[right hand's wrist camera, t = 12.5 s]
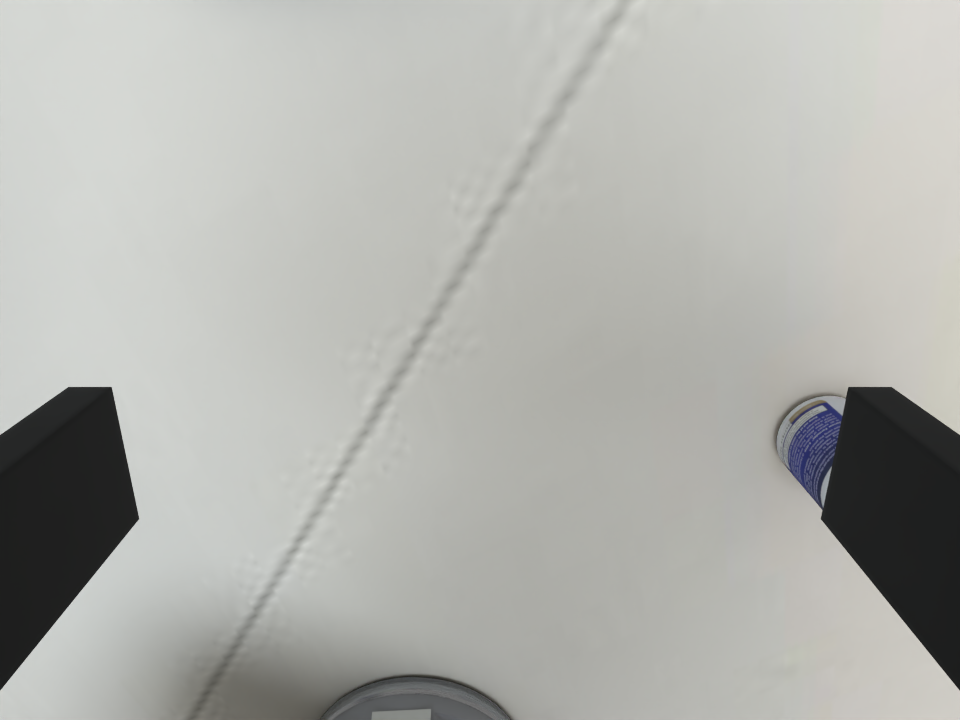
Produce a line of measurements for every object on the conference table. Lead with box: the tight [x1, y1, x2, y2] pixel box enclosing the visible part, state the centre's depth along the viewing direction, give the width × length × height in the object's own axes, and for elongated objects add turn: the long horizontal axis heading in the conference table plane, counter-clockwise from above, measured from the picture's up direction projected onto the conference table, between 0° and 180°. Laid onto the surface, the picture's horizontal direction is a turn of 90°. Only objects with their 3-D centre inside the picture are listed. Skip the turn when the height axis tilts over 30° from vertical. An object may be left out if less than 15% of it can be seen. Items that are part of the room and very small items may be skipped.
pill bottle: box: [777, 396, 846, 510], centre depth 36 cm, size 5×5×9 cm
